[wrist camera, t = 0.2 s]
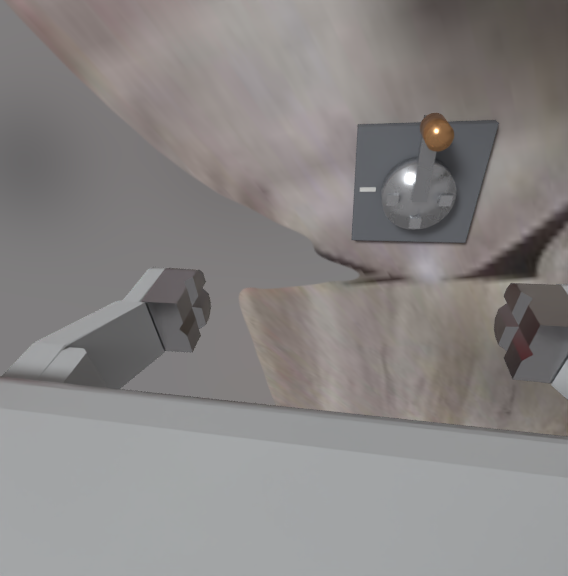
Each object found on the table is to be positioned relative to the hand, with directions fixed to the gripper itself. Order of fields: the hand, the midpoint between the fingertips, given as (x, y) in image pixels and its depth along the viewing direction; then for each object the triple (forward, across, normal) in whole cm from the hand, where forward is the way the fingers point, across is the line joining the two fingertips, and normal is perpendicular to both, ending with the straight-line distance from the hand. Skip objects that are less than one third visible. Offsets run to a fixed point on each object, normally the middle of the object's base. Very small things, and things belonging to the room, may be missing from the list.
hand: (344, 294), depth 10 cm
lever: (+45, -10, +13) cm, 48 cm away
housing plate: (+47, -10, +16) cm, 51 cm away
